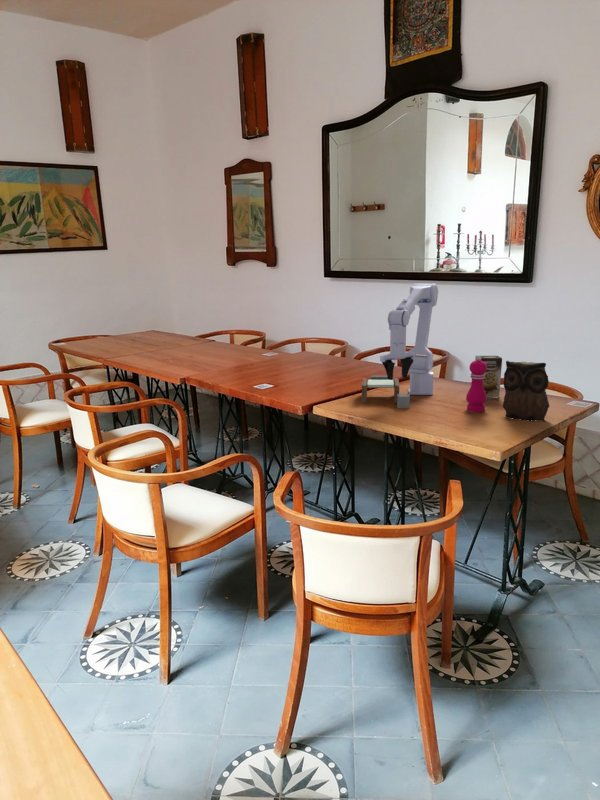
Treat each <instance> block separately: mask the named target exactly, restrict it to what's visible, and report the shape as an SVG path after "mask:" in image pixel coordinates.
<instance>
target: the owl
mask: <svg viewBox="0 0 600 800" xmlns="http://www.w3.org/2000/svg"><path fill="white" fill-rule="evenodd" d="M505 364H506V365H505V366H506V367H505V368H506V369H505V371H504V374H503V388H504V390H505V391H504V393H505V394H504V397H503V402H502V408H503V409H504V410H505V411H504V412H505V415H504V417H505V416H506V417H505V418H507V419H510V418H513V419H512V420H519V419H521V420H520V421H527V420H529V421H528V422H536V421H535V420H541V421H545V417H546V416H547V413H548V410H549V408H550V403H549V399H548V395H547V391H546V390H547V388H548V387H549V382H550V381H549V376H548V374H547V371H546V366H547V363H546V362H534V361H529V362H528V361H509V360H506V361H505ZM531 420H532V421H531Z"/></svg>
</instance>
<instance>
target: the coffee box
mask: <svg viewBox="0 0 600 800" xmlns="http://www.w3.org/2000/svg"><path fill="white" fill-rule="evenodd" d="M477 356H478V355H475V356H474V357H475V359H474V361H475V360H476V357H477ZM479 356H480V357H481V361H483V362H485V363H486V365H487V370H486V372H485V373H484V374H485V378H484V379H483V388H484V390H485V393H486V396H487V399H493V398H492V397H499V398H500V393H501V381H502V380H501V379H502V368H503V367H502V366H503V357H501V356H499V355H479Z"/></svg>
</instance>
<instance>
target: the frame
mask: <svg viewBox="0 0 600 800" xmlns="http://www.w3.org/2000/svg"><path fill="white" fill-rule="evenodd" d="M393 379H394V388H393V389H394V390H393V396H394V404H395V403H397V394H400V381H399V380H400V379H399V378H398V377H397V378H394V377H393ZM361 383H362V384H361V404H367V396H368V389H369V388H370V389H371V388H375V389H377V388H378V389H382V388H384V389H386V388H388V389H389V387H368V378H366V377H363V378H362V382H361Z"/></svg>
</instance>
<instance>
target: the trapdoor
mask: <svg viewBox="0 0 600 800" xmlns="http://www.w3.org/2000/svg"><path fill="white" fill-rule="evenodd" d="M367 383H368V387H389V388H390V389H394V378H393V380H389V379H388V377H387V375H370V378H367ZM389 388H388V389H389Z"/></svg>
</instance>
